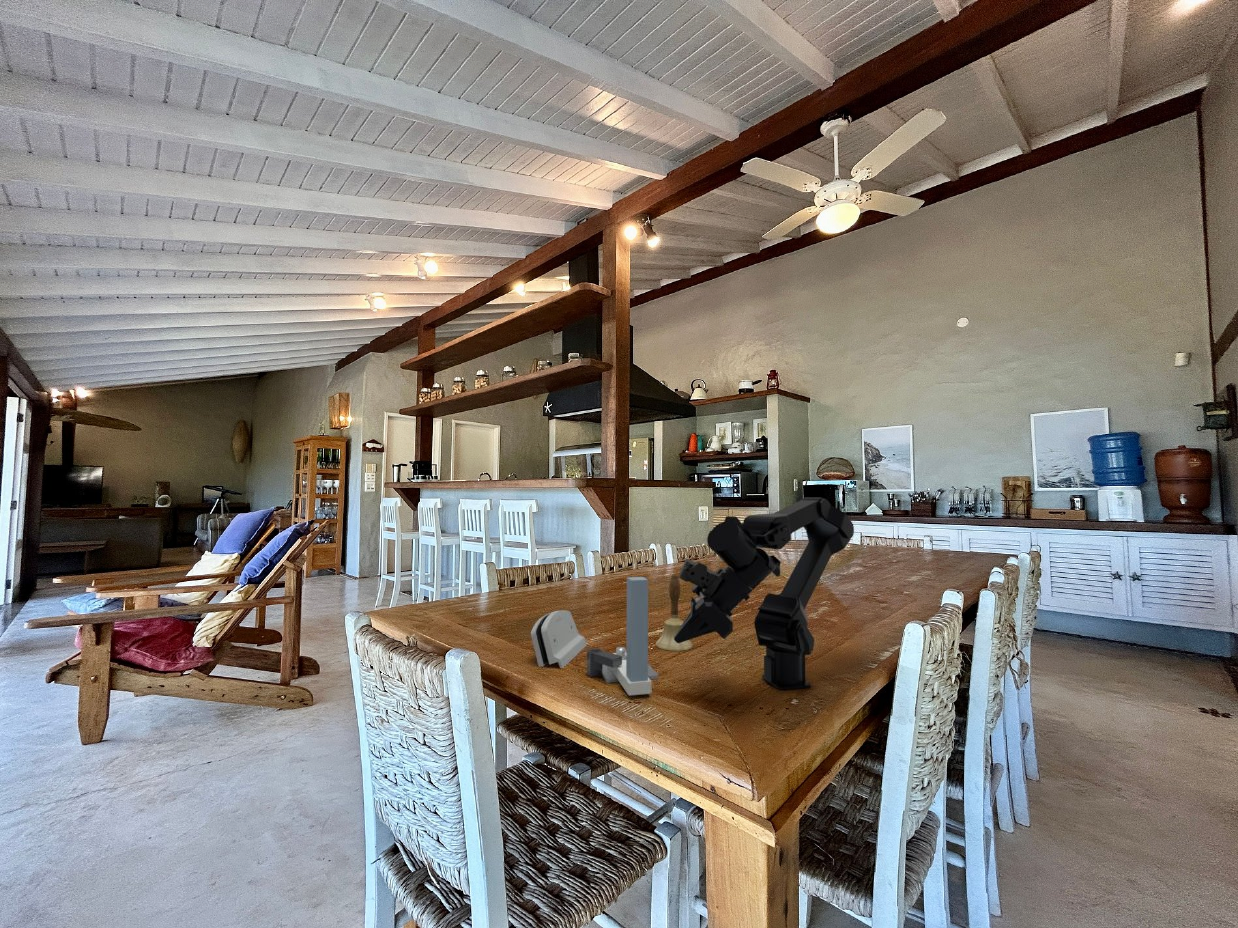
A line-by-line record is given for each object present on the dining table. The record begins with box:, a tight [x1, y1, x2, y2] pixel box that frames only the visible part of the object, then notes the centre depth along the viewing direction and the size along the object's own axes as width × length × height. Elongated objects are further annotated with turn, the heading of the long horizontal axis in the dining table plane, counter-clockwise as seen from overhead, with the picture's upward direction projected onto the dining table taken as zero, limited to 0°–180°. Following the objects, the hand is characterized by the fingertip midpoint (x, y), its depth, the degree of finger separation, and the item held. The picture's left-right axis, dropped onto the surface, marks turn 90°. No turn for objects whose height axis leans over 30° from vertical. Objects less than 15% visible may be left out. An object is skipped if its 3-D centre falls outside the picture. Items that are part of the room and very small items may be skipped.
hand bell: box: [655, 573, 693, 652], centre depth 116 cm, size 8×8×16 cm
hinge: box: [530, 609, 588, 669], centre depth 109 cm, size 17×5×10 cm, turn 166°
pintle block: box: [586, 646, 659, 684], centre depth 98 cm, size 13×11×4 cm
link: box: [610, 576, 653, 696], centre depth 95 cm, size 16×4×19 cm, turn 14°
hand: (675, 640), depth 88 cm, fingers closed
